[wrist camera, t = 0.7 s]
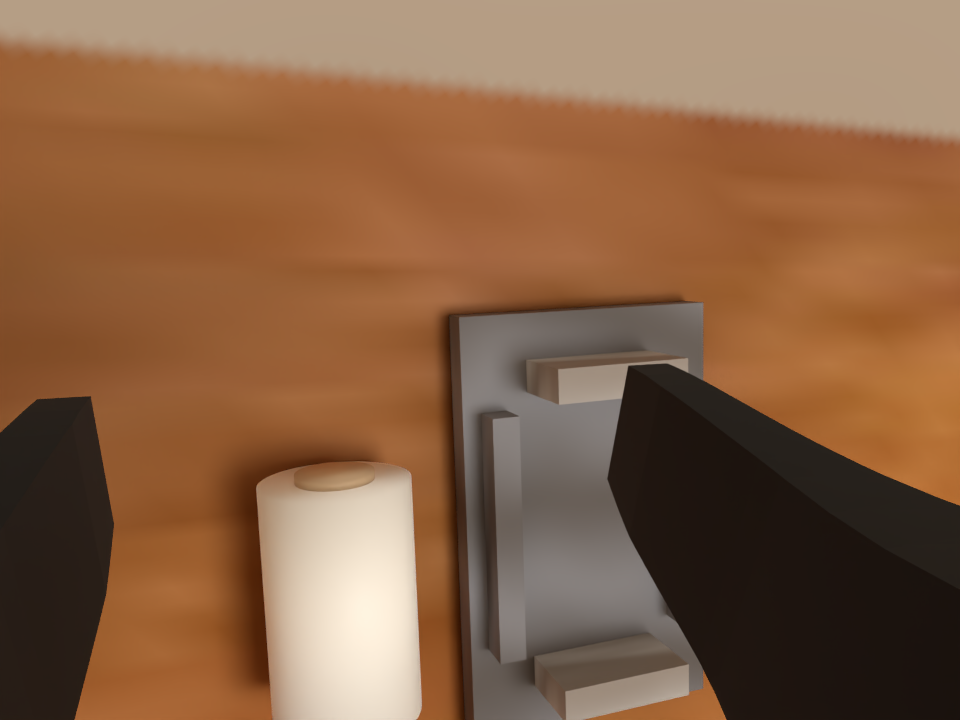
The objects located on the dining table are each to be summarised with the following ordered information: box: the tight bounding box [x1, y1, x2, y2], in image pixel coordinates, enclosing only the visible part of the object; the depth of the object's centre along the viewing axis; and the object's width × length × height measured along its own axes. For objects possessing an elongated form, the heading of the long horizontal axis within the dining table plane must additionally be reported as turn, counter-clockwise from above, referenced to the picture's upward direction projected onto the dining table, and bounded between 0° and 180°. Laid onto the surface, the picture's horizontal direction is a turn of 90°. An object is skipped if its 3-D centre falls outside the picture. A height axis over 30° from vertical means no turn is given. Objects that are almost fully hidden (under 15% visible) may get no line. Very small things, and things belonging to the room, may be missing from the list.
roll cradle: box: [449, 301, 703, 720], centre depth 31 cm, size 16×10×4 cm, turn 2°
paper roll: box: [256, 461, 422, 720], centre depth 28 cm, size 9×5×5 cm, turn 2°
